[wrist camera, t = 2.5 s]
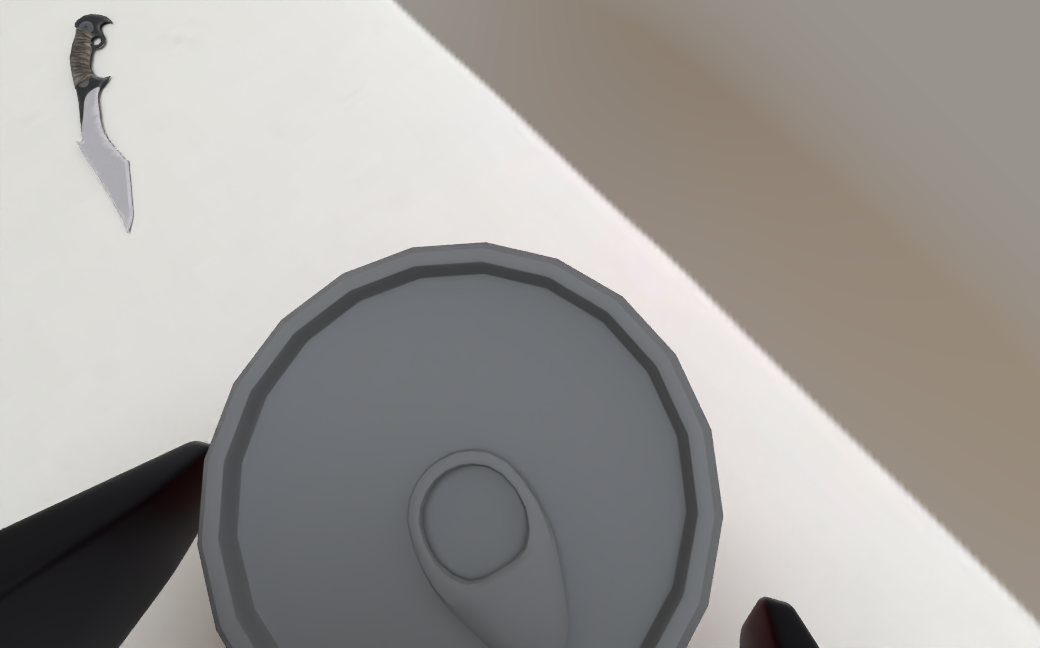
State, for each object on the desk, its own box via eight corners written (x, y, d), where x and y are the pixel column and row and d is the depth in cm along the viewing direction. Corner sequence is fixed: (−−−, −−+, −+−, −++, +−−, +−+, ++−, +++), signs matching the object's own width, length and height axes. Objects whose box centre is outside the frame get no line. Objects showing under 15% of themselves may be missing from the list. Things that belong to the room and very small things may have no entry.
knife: (68, 21, 23) (63, 15, 22) (114, 13, 23) (110, 7, 22) (87, 244, 20) (81, 241, 20) (138, 233, 20) (133, 230, 20)
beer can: (475, 632, 16) (299, 1038, 5) (375, 435, 18) (60, 377, 6) (664, 514, 17) (920, 618, 5) (552, 332, 18) (560, 105, 7)
